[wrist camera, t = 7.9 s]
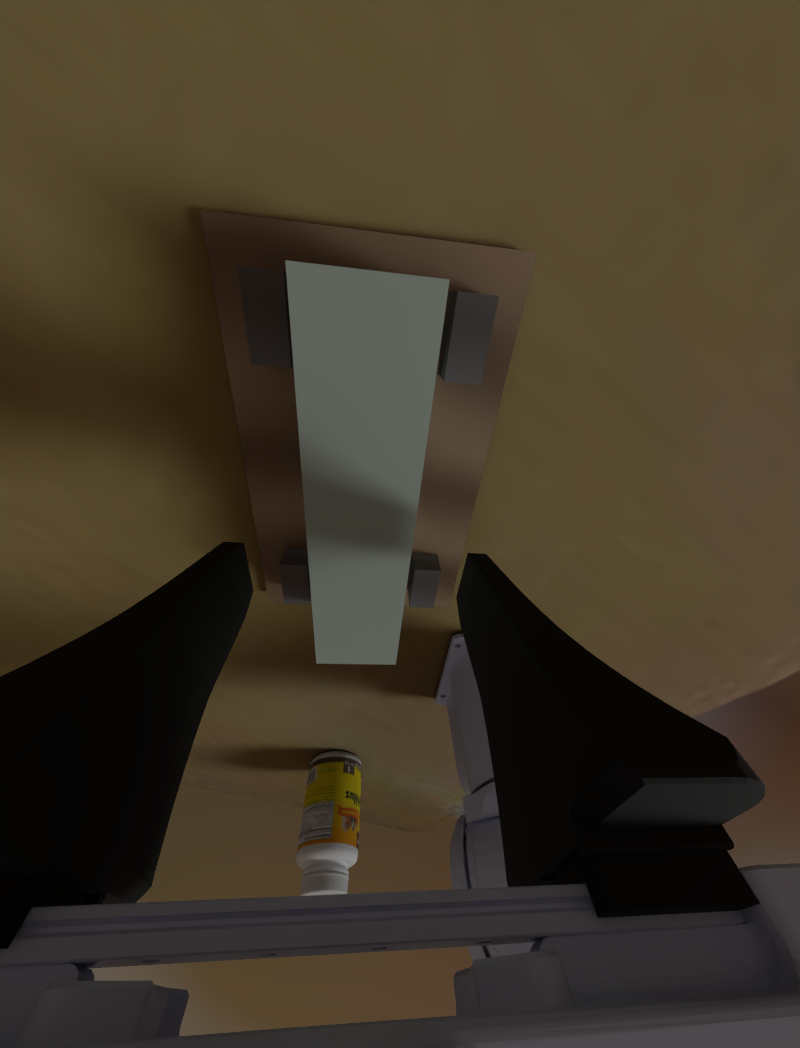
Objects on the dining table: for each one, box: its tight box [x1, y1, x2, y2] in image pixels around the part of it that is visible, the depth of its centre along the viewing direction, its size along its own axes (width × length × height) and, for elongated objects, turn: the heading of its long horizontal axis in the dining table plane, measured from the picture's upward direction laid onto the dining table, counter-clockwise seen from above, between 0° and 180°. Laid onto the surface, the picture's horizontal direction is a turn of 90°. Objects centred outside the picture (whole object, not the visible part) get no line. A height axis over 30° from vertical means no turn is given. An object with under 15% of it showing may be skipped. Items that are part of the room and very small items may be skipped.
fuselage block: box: [285, 260, 450, 665], centre depth 15 cm, size 16×4×6 cm, turn 175°
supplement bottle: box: [296, 751, 361, 896], centre depth 33 cm, size 6×6×10 cm
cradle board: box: [199, 209, 537, 608], centre depth 17 cm, size 19×12×2 cm, turn 175°
